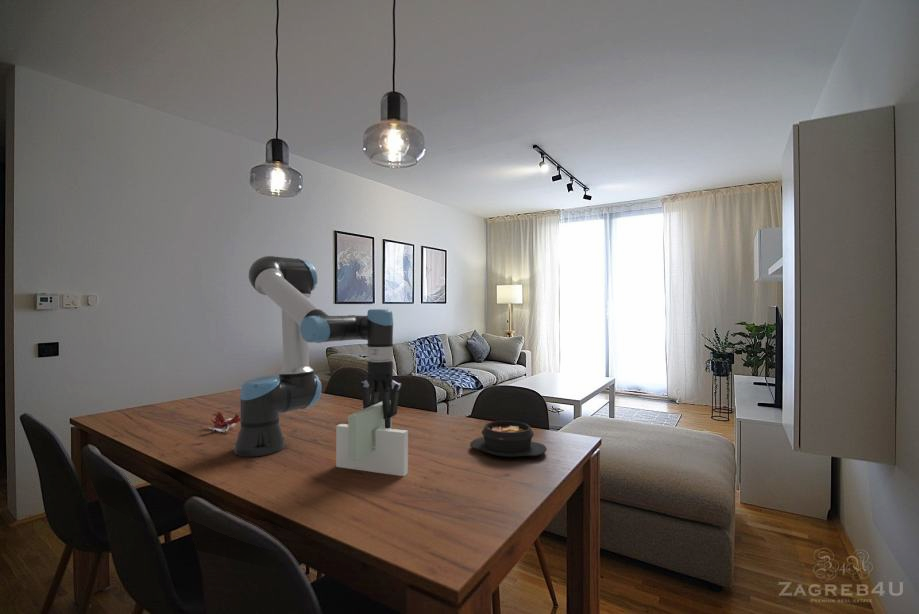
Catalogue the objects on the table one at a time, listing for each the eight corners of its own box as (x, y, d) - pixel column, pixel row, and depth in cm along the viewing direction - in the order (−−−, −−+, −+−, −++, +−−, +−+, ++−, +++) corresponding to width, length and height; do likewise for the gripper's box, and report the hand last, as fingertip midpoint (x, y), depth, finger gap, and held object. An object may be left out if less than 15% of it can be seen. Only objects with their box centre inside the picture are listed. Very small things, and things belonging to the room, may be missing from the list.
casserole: (461, 456, 132) (461, 429, 133) (479, 439, 150) (479, 415, 150) (541, 467, 124) (541, 438, 124) (550, 447, 141) (550, 422, 141)
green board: (384, 438, 131) (384, 400, 131) (391, 439, 130) (391, 400, 130) (348, 460, 112) (348, 415, 112) (356, 461, 111) (356, 416, 111)
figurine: (196, 431, 159) (196, 414, 159) (225, 424, 169) (225, 407, 169) (221, 437, 152) (221, 418, 152) (250, 429, 162) (250, 411, 162)
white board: (336, 466, 123) (336, 425, 123) (341, 463, 126) (341, 423, 126) (404, 476, 116) (404, 432, 116) (407, 473, 119) (407, 430, 119)
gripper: (350, 360, 125) (350, 440, 125) (397, 362, 120) (397, 445, 120) (364, 358, 132) (364, 433, 132) (409, 359, 127) (409, 437, 127)
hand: (380, 438), depth 126 cm, fingers closed on green board, 2 cm apart
